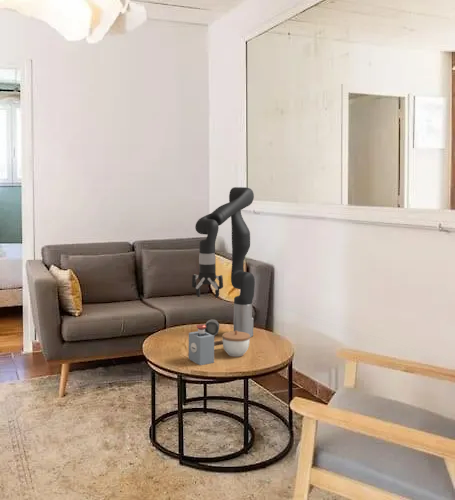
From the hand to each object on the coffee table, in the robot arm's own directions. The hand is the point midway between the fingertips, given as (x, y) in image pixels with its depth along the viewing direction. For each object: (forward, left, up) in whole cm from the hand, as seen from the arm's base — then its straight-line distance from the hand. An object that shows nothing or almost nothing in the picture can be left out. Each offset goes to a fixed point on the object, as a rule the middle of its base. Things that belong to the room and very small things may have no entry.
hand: (207, 297), depth 273 cm
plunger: (+11, +12, -15) cm, 22 cm away
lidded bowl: (-8, +12, -25) cm, 29 cm away
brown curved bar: (-4, +4, -25) cm, 26 cm away
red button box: (+11, +12, -25) cm, 30 cm away
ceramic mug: (-15, -23, -26) cm, 38 cm away
